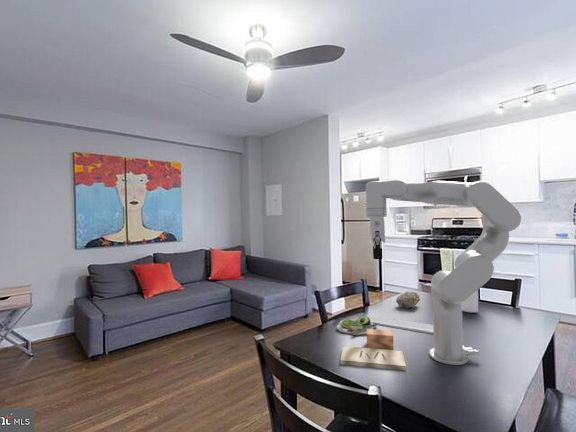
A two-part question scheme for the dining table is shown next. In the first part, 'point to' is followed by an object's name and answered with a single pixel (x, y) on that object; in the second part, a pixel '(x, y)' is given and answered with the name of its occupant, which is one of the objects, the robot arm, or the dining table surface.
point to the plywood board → (373, 358)
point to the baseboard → (402, 324)
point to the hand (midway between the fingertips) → (377, 257)
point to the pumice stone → (408, 299)
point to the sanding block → (380, 339)
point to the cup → (471, 303)
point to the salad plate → (356, 326)
